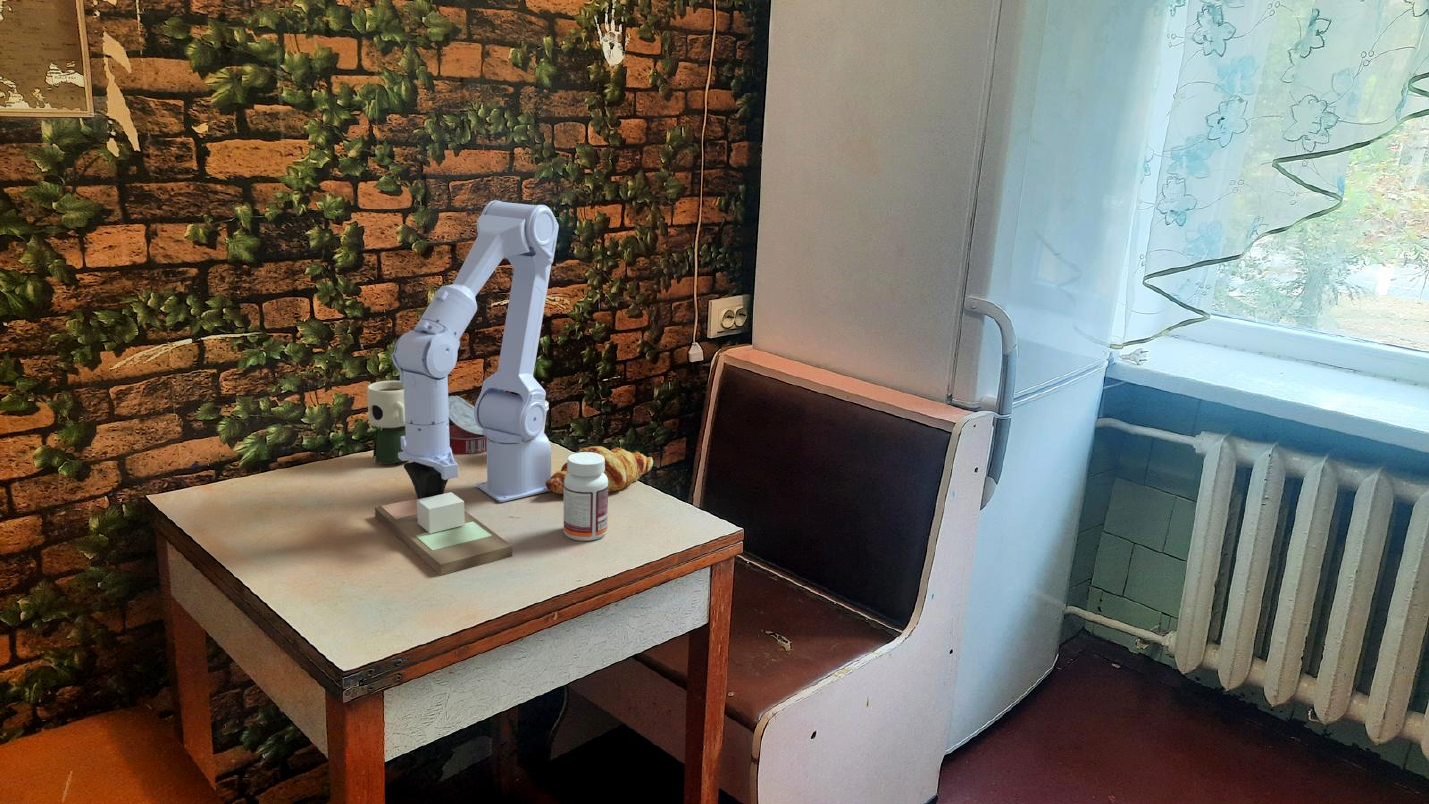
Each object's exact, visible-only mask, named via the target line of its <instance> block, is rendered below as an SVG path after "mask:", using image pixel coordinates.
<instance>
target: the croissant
mask: <svg viewBox="0 0 1429 804" xmlns="http://www.w3.org/2000/svg"><path fill="white" fill-rule="evenodd" d="M580 452H592V453H597V454H600V455H602V456H603V457H604V458H605V471H604V472H603V473H604V474H605V475H606V476H607V478H608V493H611V492H615V491H619V490H623V489H625V488H626V487H628V486H630V485H631V484H632V483H633V482H636V481H637V480H638V479H640V478H641V476H642V475H646V474H647V473H648V472H649V471H650V470H651V469H652V468H653V466H654V460H653V457H652V456H648V457H647V456H646V455H644V454H643V453H640V452H639V451H635V452H630V451H628V450H626V449H624V448H621V447H618V446H617V447H614V448H612V449H611V450H609V449H608V448H606V447H604V446H601V445H600V446H599V445H597V446H588V447H583V448H581V449H579V450H578V451H576V452H575V453H580ZM568 473H569V472H568V470H567V462H565V463H564V464H563V465H562V466H561V469H560V470H558V471H555V473H554V474H552V475H551V478H550V479H549V480H547V481H546V487H547V489H548V490H550V491H549V492H553V493H555V494H559V495H564V479H565V477H566V475H567V474H568Z"/></svg>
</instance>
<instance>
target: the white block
mask: <svg viewBox="0 0 1429 804" xmlns="http://www.w3.org/2000/svg"><path fill="white" fill-rule="evenodd" d="M416 499H417V498H416ZM464 511H465V501H464V500H463V499H462V498H460V497H459V496H458V495H456V494H454V492H446V493H443V494H441V495H436V496H431V497H427V498H422V499H417V516H418V524H419V525H420V526H422V527H423V528H424V529H425V530H426V531H428V532H429V533H434V532H438V531H442V530H446V529H451V528H455V527H459V526H463V525H465V515H464Z"/></svg>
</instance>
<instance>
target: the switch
mask: <svg viewBox="0 0 1429 804" xmlns="http://www.w3.org/2000/svg"><path fill="white" fill-rule="evenodd" d="M417 499H418V498H417V497H416V498H412V499H408V500H404V501H398V502H392V503H390V504H384V505H379V506H376V507H374V514H375V515H374V516H375V519H376V520H378V521H379V522H380V523H381V524H382V525H383V526H385V527H386V528H387V529H388V530H389V531H390V532H391V533H393V535H395V536H396V537H397V538H398V539H399V540H400V541H401V542H403V543H404V544H405V545H406V546H407V547H408V548H410V550H412V551H413V552H414V553H415V554H416V555H417V556H419V557H420V558H421V559H422V560H423V561H424V562H425V563H426V564H428V565H429V566H430V567H431V568H432V569H433V570H434V571H436V572H437V573H438V575H440V576H444V575H447V574H451V573H456V572H458V571H463V570H467V569H471V568H474V567H477V566H481V565H485V564H490V563H492V562H496V561H500V560H503V559H507V558H511V557H513V545H512V544H511V543H509V542H507V541H506V540H505V539H504V538H502V537H501V536H499V534H497V533H496V532H494V531H493V530H491V529H490V528H489V527H488V526H486V525H485V524H483V523H482V522H481V521H479V520H478V519H476V517H474V516H473V515H472V514H470V513H469V512H467V511H466V510H464V515H465V525H463V526H459V527H455V528H451V529H446V530H442V531H438V532H434V533H429V532H428V531H426V530H425V529H424V528H423V527H422V526H420V525H419V524H418V516H417Z"/></svg>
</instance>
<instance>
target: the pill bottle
mask: <svg viewBox="0 0 1429 804" xmlns="http://www.w3.org/2000/svg"><path fill="white" fill-rule="evenodd" d="M566 463H567V470H568V472H569V473H568V474H567V475H566V477H565V479H564V494H563V533H564V534H565V536H566V537H568V538H569V539H571V540H575V541H583V542H584V541H585V542H587V541H589V542H591V541H596V540H600V539H601V538H603V537H605V535H607V532H608V520H609V519H608V517H609V516H608V514H609V508H608V507H609V505H608V504H609V492H608V478H607V476H606V475H605V474H604V473H603V472H604V471H605V458H604V457H603V456H602V455H600V454H597V453H592V452H580V453H576V452H574V453H571V454H570V455H569V456H568V457H567V462H566Z"/></svg>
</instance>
